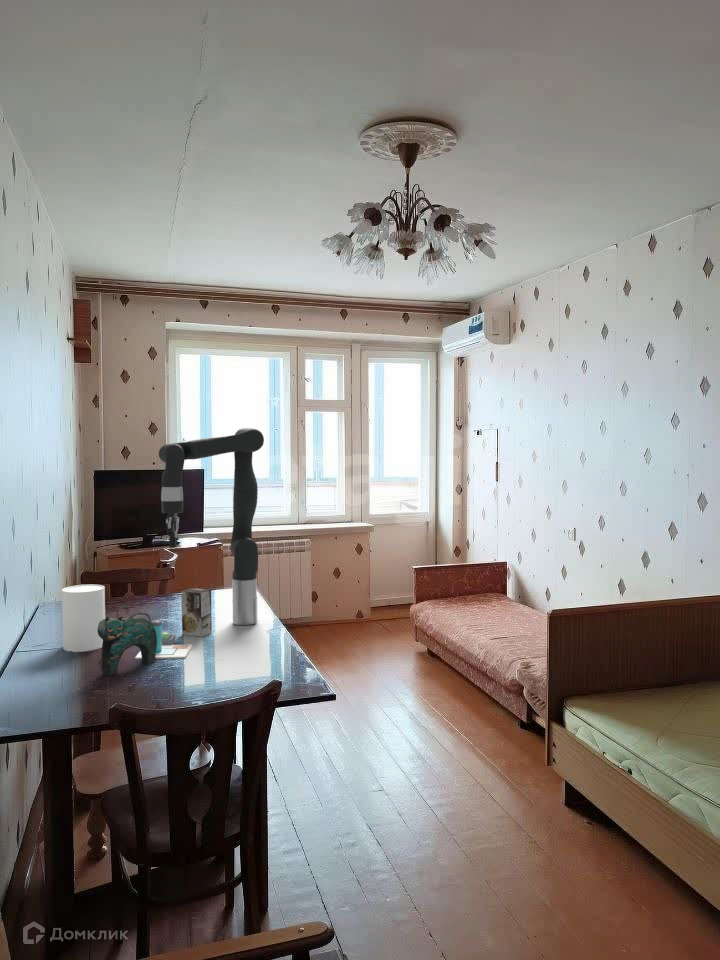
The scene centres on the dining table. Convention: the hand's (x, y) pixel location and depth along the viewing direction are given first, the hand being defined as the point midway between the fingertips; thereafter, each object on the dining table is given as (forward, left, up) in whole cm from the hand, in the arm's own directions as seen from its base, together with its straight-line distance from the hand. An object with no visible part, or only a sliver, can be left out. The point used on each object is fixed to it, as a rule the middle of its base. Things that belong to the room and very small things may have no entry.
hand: (172, 547), depth 255 cm
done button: (+1, +12, -31) cm, 33 cm away
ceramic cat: (+7, +38, -32) cm, 50 cm away
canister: (+28, +12, -32) cm, 44 cm away
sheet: (-1, +22, -32) cm, 39 cm away
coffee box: (-8, -1, -32) cm, 33 cm away
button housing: (+1, +12, -32) cm, 34 cm away
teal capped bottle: (+2, +23, -31) cm, 39 cm away
